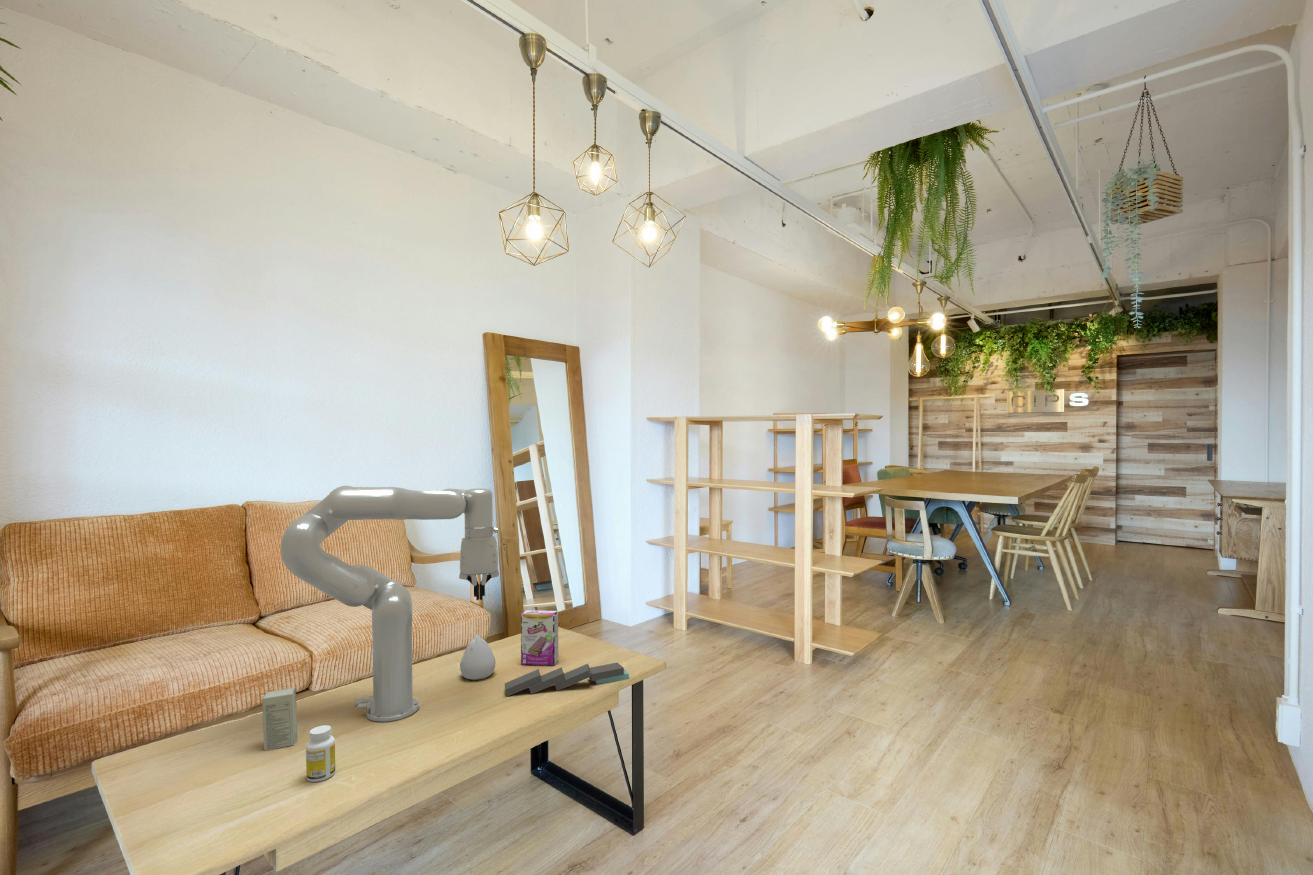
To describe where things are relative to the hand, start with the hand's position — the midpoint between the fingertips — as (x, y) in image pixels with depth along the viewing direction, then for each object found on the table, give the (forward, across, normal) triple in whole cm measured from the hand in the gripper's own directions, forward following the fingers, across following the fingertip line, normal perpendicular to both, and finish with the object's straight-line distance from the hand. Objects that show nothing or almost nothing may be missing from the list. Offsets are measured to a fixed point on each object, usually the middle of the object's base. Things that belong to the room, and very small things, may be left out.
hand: (479, 598), depth 167 cm
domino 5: (+27, -32, -2) cm, 42 cm away
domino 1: (+26, -7, 0) cm, 27 cm away
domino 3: (+26, -21, 0) cm, 33 cm away
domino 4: (+25, -30, 0) cm, 39 cm away
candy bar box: (+27, -18, -21) cm, 39 cm away
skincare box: (+27, +45, +14) cm, 54 cm away
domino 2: (+26, -14, 0) cm, 29 cm away
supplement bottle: (+27, +32, +32) cm, 53 cm away
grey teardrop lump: (+27, +1, -16) cm, 32 cm away
